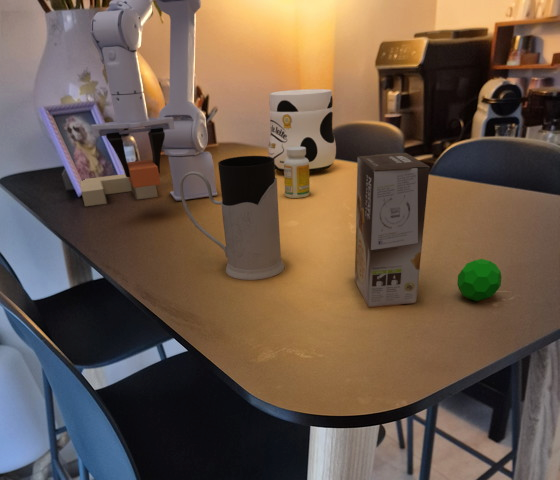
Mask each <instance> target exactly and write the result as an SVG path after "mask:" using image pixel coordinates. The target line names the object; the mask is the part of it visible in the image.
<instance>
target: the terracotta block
mask: <svg viewBox="0 0 560 480" xmlns="http://www.w3.org/2000/svg"><path fill="white" fill-rule="evenodd" d="M127 164H128V168H129V173H130V177H128V179H129V181H130V182H131V184H132V186H133V187H134V188H138V187H145V186H153V185H156V186H159V185H161V179H160V173H159V172H158V167H157V166H156V165H155V163H154V162H153V159H144V160H137V161H129V162H127Z"/></svg>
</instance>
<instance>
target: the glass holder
mask: <svg viewBox="0 0 560 480" xmlns="http://www.w3.org/2000/svg"><path fill="white" fill-rule="evenodd" d="M217 164H218V172H219V173H218V174H219V184H220V192H221V201H219V200H215V198H214V196H212V191H211V186H210V183H209V181H208V179H207V178H206V177H205V176H204V175H203V174H201V173H199V172H189V173H187V174H185V175H184V176H183V177H182V179H181V182H180V194H181V199H182V200H181V204H182V206H183V208H184V211H185V213H186V215H187V216H188V218H189V220H190V221H191V222H192V224H193V225H194V227H195V228H196V229H197V230H198V231H200V232H201V233H202V234H203V235H204V236H206V237H207V238H208V239H209V240H211V241H212V242H213V243H214V244H216V245H217V246H219V248H221V249H222V250H223V251H224V254H225V258H226V259H227V263H226V264H227V265H226V267H225V273H226V275H228V276H229V277H231V278H232V279H233V278H234V279H236V280H237V279H238V280H244V281H256V280H264V279H268V278H269V279H270V278H273V277H275V276H277V275H279V274H281V273H282V272H284V270H285V264H284V262H283V260H282V253H281V251H282V250H281V233H280V213H279V195H278V179H277V177H276V169H275V161H274V158H272V157H269V155H268V156H266V155H241V156H235V157H228V158H225V159H222V160H219V161H218V162H217ZM189 175H198V176H199V177H201V178H202V179H203V180H204V182H205V183H206V185H207V189H208V193H209V197H208V198H209V200H210V202H211V203H212V204H214V205H219V206H221V213H222V222H223V231H224V232H223V233H224V240H225V245H224V243H222V242H221V241H220V240H218V239H217V238H215V236H213V235H212V234H210V233H209V232H208V231H206V229H204V228H203V227H202V226H201V225H200V223H198V221H197V220H196V219H195V218H194V216H193V214H192V212H191V211H190V209H189V206H188V203H187V202H186V200H185V197H184V192H183V182H184V179H185V178H186V177H187V176H189Z"/></svg>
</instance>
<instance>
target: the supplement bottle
mask: <svg viewBox="0 0 560 480" xmlns="http://www.w3.org/2000/svg"><path fill="white" fill-rule="evenodd" d="M305 155H306V148H305V147H300V146H297V147H289V148H287V156H288V158H287V159H286V160H285V161H284V172H283V180H284V196H285V197H287V198H289V199H301V198H306V197H308V196H309V195H310V173H309V160H308V159H307V158H305Z"/></svg>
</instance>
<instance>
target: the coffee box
mask: <svg viewBox="0 0 560 480" xmlns="http://www.w3.org/2000/svg"><path fill="white" fill-rule="evenodd" d="M356 160H357V161H356V162H357V164H356V166H357V167H356V168H357V169H356V170H357V171H356V173H357V174H356V209H355V210H356V211H355V252H354V253H355V254H354V257H355V258H354V282H355V284H356V286H357V288H358V290H359V292H360V294H361V296H362V298H363V299H364V301H365V303H366V305H367V306H368V307H370V308H371V307H373V308H374V307H382V306H394V305H409V304H415V303H416V302H417V299H418V290H419V289H418V288H419V279H420V270H421V269H420V268H421V259H422V248H423V240H424V239H423V237H424V227H425V218H426V206H427V199H428V198H427V197H428V189H429V177H430V176H429V175H430V168H431V167H430V166H429V165H428V164H426V163H424V162H422V161H421V160H419V159H417V158H416V157H415V156H412V155H411V154H409V153H407V152H395V153H381V154H380V153H379V154H373V155H363V156H361V155H360V156H357V159H356Z"/></svg>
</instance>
